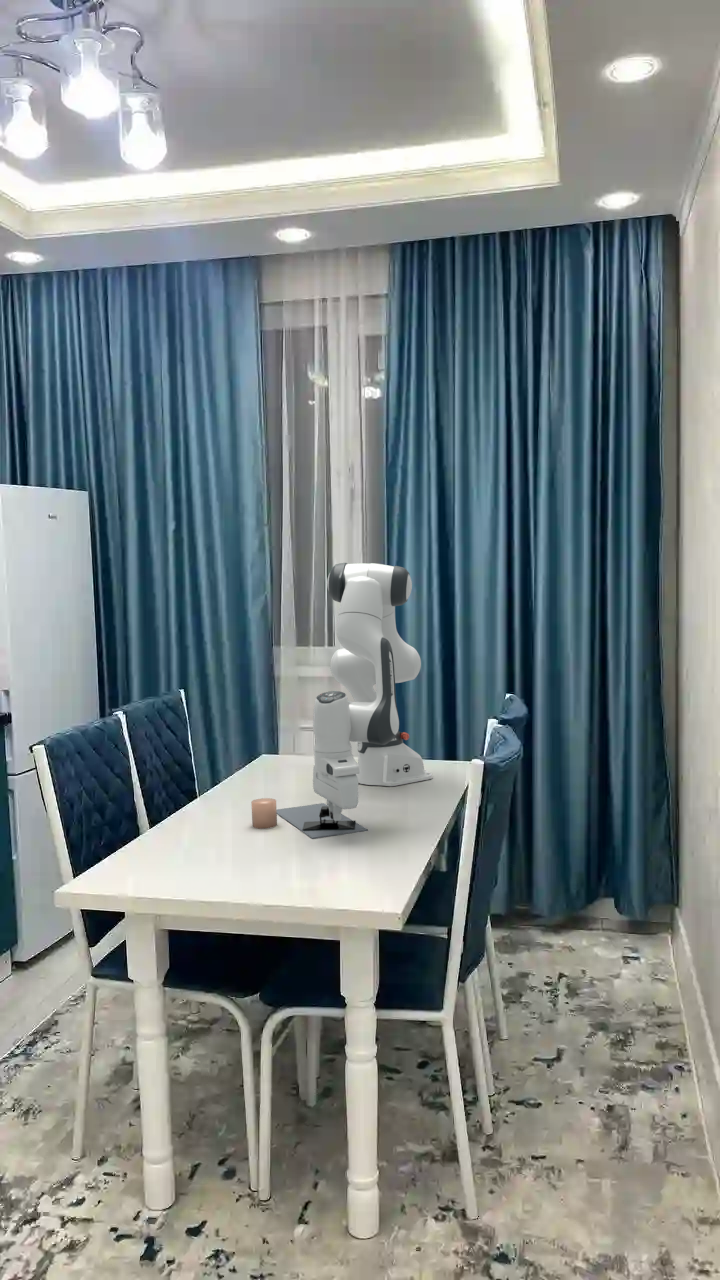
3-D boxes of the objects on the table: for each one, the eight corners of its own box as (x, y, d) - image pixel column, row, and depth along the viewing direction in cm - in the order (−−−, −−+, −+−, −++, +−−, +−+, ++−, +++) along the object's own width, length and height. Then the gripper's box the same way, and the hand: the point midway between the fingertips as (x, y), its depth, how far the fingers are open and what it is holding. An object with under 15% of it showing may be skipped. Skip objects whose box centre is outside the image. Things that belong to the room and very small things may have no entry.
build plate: (302, 831, 237) (301, 812, 236) (304, 823, 244) (303, 804, 244) (354, 829, 236) (353, 810, 236) (355, 821, 244) (354, 802, 243)
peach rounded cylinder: (272, 821, 248) (271, 797, 248) (280, 826, 243) (279, 802, 242) (249, 824, 246) (248, 800, 245) (256, 830, 240) (255, 805, 240)
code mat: (323, 804, 263) (323, 802, 263) (367, 830, 236) (367, 829, 236) (272, 811, 258) (272, 809, 258) (312, 838, 231) (312, 837, 231)
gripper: (305, 755, 244) (307, 811, 245) (336, 771, 225) (339, 831, 226) (329, 752, 246) (331, 807, 247) (362, 767, 227) (364, 827, 228)
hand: (335, 819), depth 236 cm, fingers closed
